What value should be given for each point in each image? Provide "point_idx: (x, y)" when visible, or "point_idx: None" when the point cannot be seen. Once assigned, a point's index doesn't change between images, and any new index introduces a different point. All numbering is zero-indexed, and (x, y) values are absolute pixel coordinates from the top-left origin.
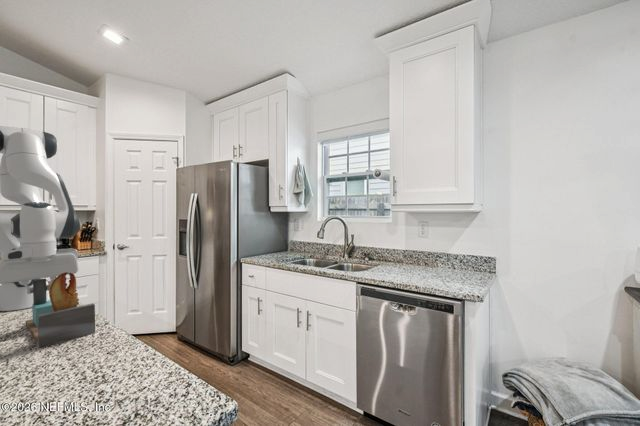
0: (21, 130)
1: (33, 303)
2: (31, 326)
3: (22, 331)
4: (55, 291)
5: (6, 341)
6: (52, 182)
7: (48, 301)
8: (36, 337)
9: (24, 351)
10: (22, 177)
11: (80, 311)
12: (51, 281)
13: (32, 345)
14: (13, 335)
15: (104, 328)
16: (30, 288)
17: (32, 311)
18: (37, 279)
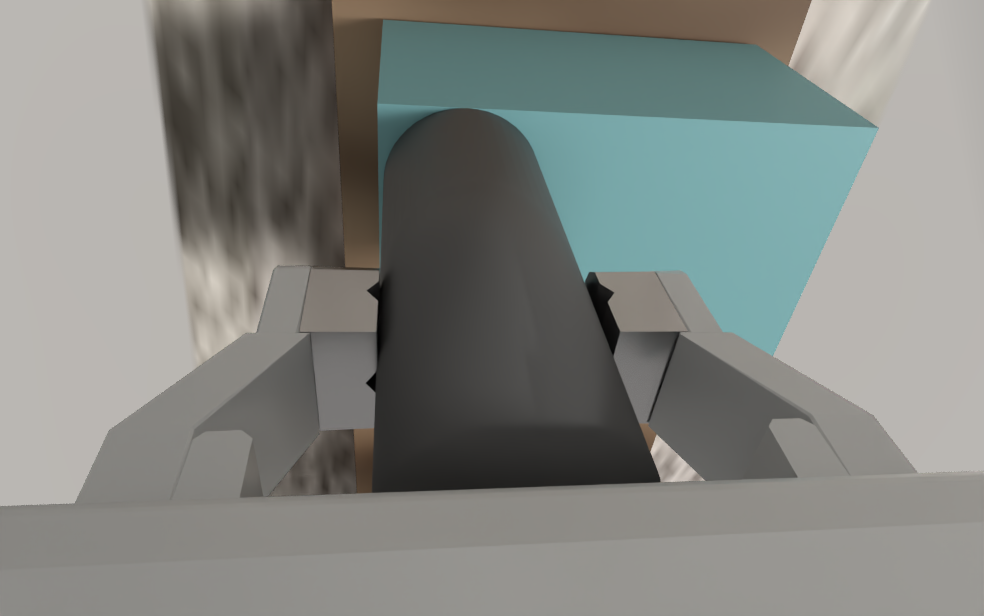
0: None
1: (383, 189)
2: (355, 181)
3: (292, 94)
4: None
5: (188, 266)
6: None
7: (570, 162)
8: (355, 450)
9: (294, 494)
10: None
11: None
12: (726, 443)
13: (334, 447)
14: (225, 153)
15: (681, 466)
16: (323, 428)
17: (380, 58)
18: (498, 441)
